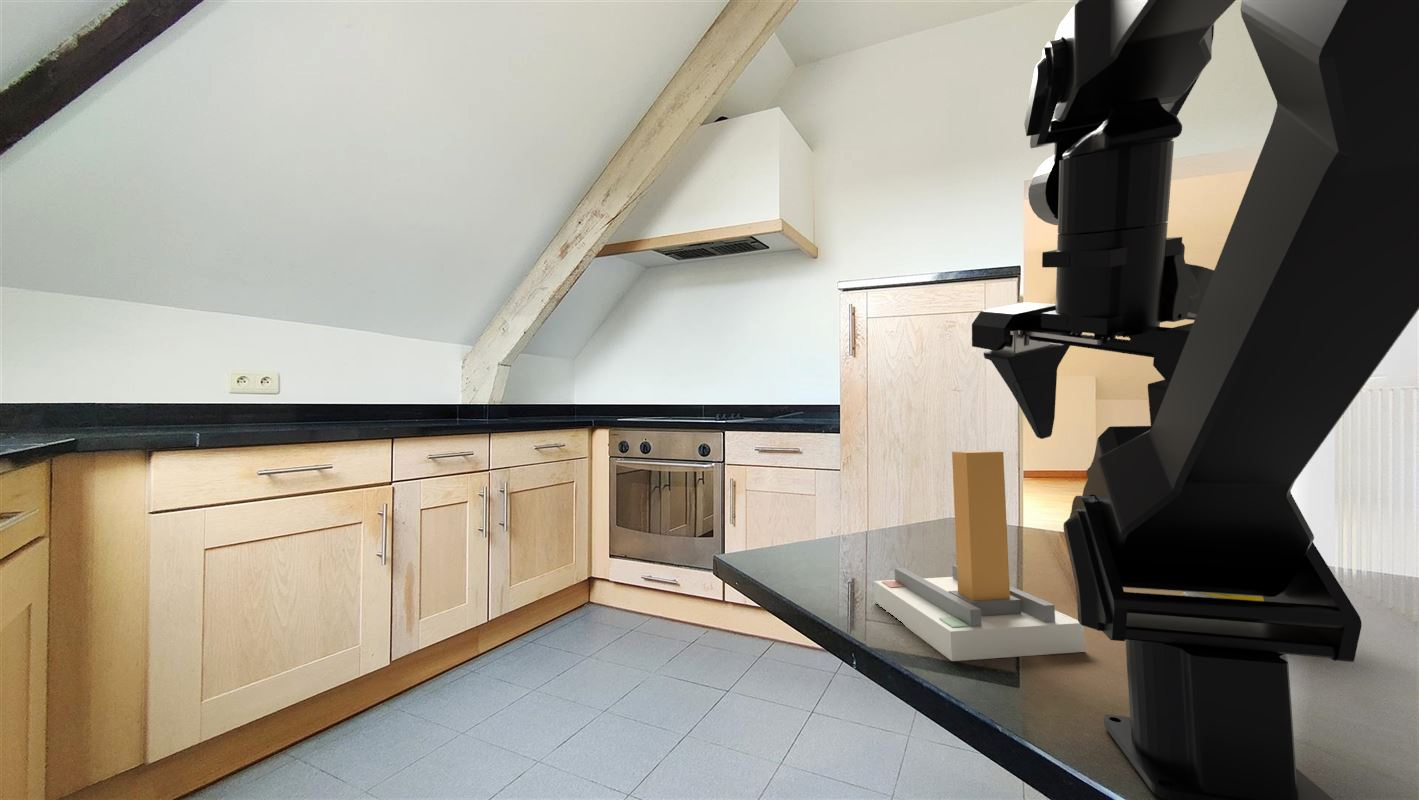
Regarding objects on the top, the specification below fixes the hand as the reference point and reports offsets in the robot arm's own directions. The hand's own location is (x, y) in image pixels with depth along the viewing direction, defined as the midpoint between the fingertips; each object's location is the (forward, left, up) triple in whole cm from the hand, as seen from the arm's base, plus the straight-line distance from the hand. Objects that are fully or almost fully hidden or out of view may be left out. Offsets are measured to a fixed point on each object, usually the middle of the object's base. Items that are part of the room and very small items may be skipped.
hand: (1098, 455), depth 40 cm
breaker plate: (+4, +9, -14) cm, 17 cm away
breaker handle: (+2, +8, -12) cm, 14 cm away
